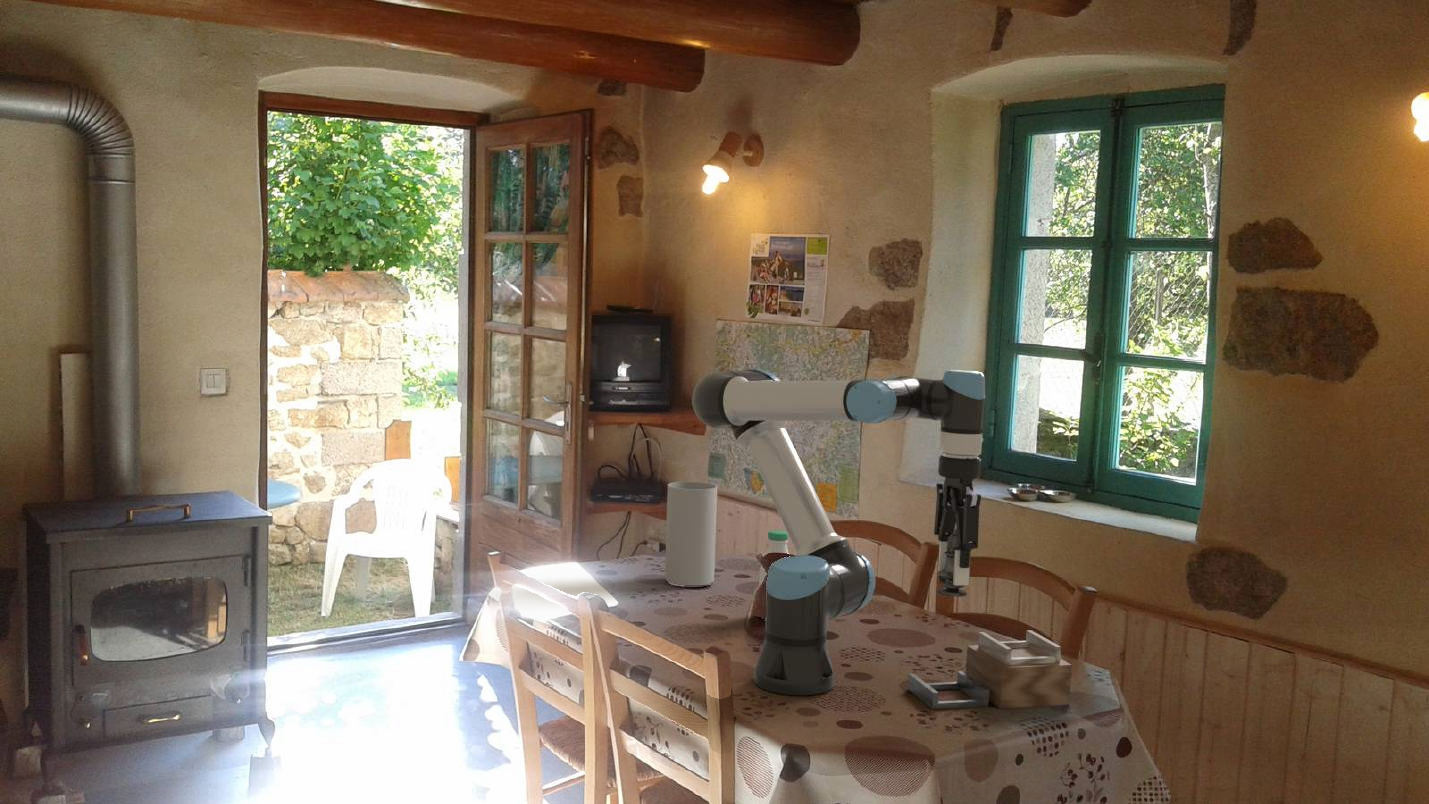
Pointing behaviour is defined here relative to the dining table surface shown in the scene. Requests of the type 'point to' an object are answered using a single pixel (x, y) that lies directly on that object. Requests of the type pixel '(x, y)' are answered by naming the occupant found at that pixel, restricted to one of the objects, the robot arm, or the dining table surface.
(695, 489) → the cylinder vase
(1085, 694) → the dining table surface
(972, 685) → the low socket
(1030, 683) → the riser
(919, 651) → the dining table surface
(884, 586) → the dining table surface
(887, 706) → the dining table surface
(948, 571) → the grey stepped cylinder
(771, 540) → the milk bottle
